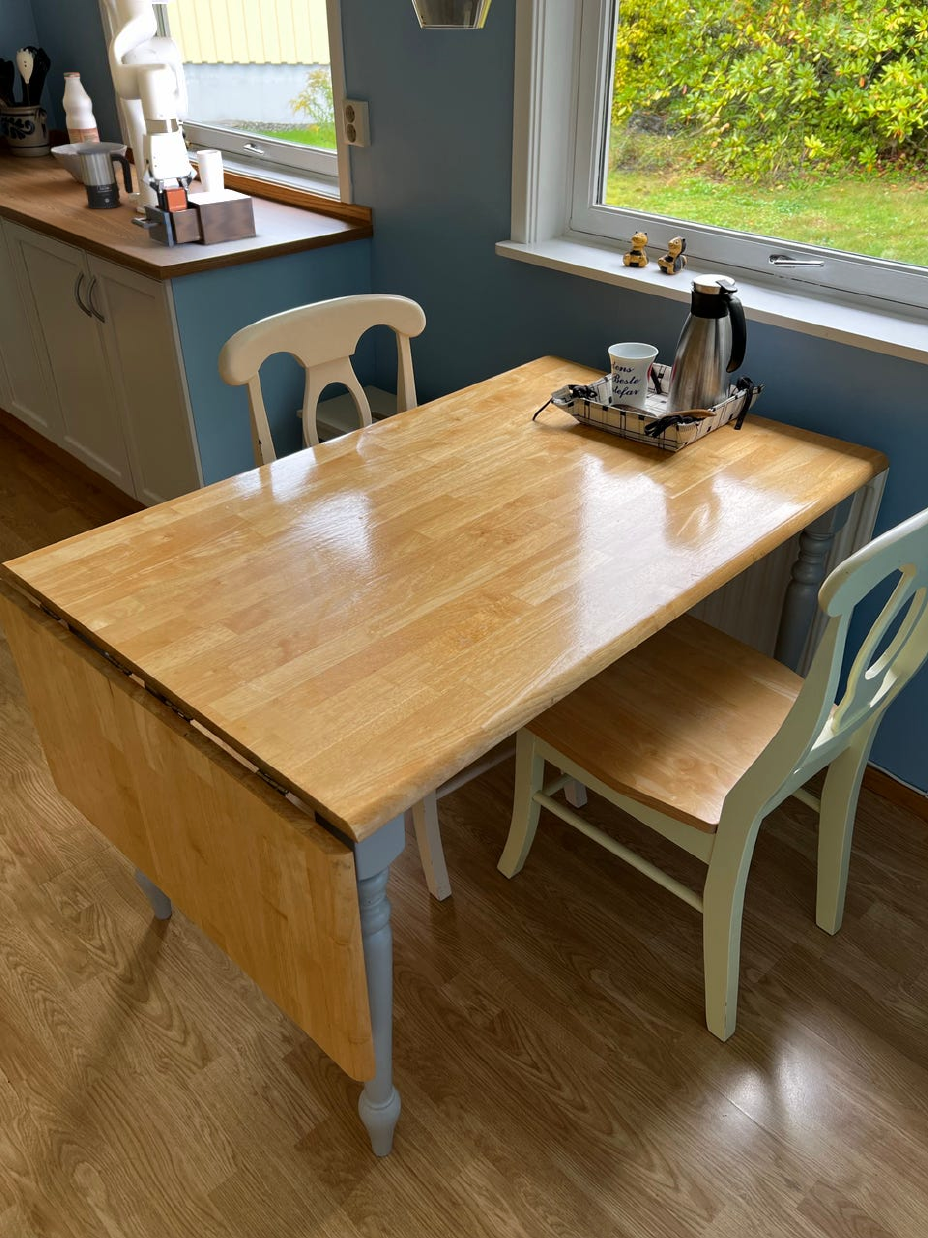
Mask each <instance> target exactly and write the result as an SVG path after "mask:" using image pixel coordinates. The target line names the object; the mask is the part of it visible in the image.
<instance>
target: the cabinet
mask: <svg viewBox="0 0 928 1238" xmlns="http://www.w3.org/2000/svg"><path fill="white" fill-rule="evenodd" d="M187 195H188V204H190V205H193V206H196V207H199V214H200V221H201V228H202V235H203V239H200V240H194V241H193V242H197V243H199V244H202V245H204V246H208V245H215V244H219V243H225V242H231V241H238V240H244V239H250V238H255V237H256V236H257V234H256V233H257V232H256V225H255V215H254V214H255V213H254V208H253V207H254V206H253V197H252V196H249V195H246V194H243V193H240V192H237V191H234V190H231V189H224V190H219V191H212V192H205V193H204V192H199V193H192V194H187Z"/></svg>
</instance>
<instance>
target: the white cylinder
mask: <svg viewBox="0 0 928 1238" xmlns="http://www.w3.org/2000/svg"><path fill="white" fill-rule="evenodd" d="M196 161H197V168H198V173H199V177H200V181H201V186H202V191H203V193H205V192H212V191H219V190H225V181H224V180H225V179H224V165H223V164H224V163H223V156H222V151H220V150H217V149H205V150H199V151H197V152H196Z"/></svg>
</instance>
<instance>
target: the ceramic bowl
mask: <svg viewBox="0 0 928 1238" xmlns="http://www.w3.org/2000/svg"><path fill="white" fill-rule="evenodd" d="M86 148H109V149H110V151H109V153H118V154H121V155H123V156H124V157H126V151H127V149H128V146H127V145H125V144H122V143H117V142H108V141H107V142H105V141H99V142H84V143H76V144H71V143H70V144H69V143H68V144H63V145H58V146H54V147H51V149H50V152H51V154H53V156H54V157H55V159H56V160H57V162H59V164H60V165H61V167H63V169H64V170H65V171H66V173H68V174H70V176H71V177H72V178H73V179H74V180H76V181H77V182H80V183H84V179H83V174H82V170H81V165H80V160H79V156H78V154H77V153H76V152H77V150H80V149H86ZM113 166H114V171H115V176H116V175H117V174H118V172H119V171H120V170H121V169H122V165H121V163H120V162H119V161H113Z"/></svg>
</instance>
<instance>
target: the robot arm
mask: <svg viewBox="0 0 928 1238" xmlns="http://www.w3.org/2000/svg"><path fill="white" fill-rule="evenodd" d="M102 2H103V3H104V5H105V7H106V9H107V11H108V13H109V16H110V19H111V23H112V30H113V35H112V38H111V40H110V43H109V47H108V62H109V67H110V72H111V77H112V81H113V85H114V88H115V91H116V93H117V94H118V96H119V100H120V106H121V109H122V112H123V117H124V119H125V122H126V126H127V130H128V135H129V140H130V145H131V150H132V156H133V162H134V168H135V173H136V174H135V175H136V180H137V184H138V191H139V192H137V193H134V192H133V193H130V194H128V200H129V202H132V203H133V202H136V203H137V205H136V211H137V212H138V213H140V214H145V208H144V205H150V206H152V207H155V205H159V206H160V208H161V209H163V210H168V204H167V198H166V194H165V193H164V191H163V188H164V186H169V185H173V178H176V180H177V182H178V185H179V186H181V187H184V192H185V199H186V205H187V207H188V195H189V194H188V190H189V187H190V185H191V183H192V182H193V180H194V179H195V178H196V177H197V175H198V172H197V170H196V169H195V168H194V167H193V166H192V164H191V163H190V159H189V155H188V151H187V146H186V143H185V140H184V137H183V133H182V134H181V132H179V131H178V130H179V126H182V127H183V122H186V121H187V120H188V118H189V115H190V114H189V113H190V112H189V111H190V110H189V102H188V101H189V100H188V94H187V88H186V82H185V81H186V80H185V76H184V68H183V62H182V56H181V52H180V49H179V46H178V44H177V42H176V41H175V39H173V38H172V37H169V36H155V35H156V32H157V28H158V25H157V24H158V23H157V19H156V16H155V12H154V8H153V4H154V5H155V4H157V5H158V4H159V5H161V4H164V5H165V4H171V3H172V2H173V0H102ZM145 215H146V214H145Z"/></svg>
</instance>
